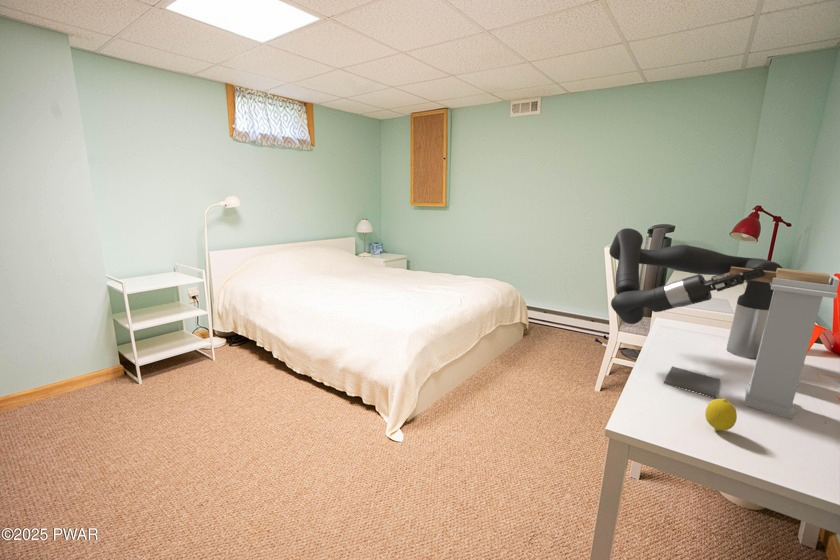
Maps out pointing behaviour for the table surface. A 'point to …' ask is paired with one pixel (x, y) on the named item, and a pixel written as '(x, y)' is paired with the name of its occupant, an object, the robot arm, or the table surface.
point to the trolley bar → (787, 275)
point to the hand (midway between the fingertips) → (763, 270)
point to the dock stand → (785, 343)
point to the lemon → (721, 414)
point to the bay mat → (692, 381)
